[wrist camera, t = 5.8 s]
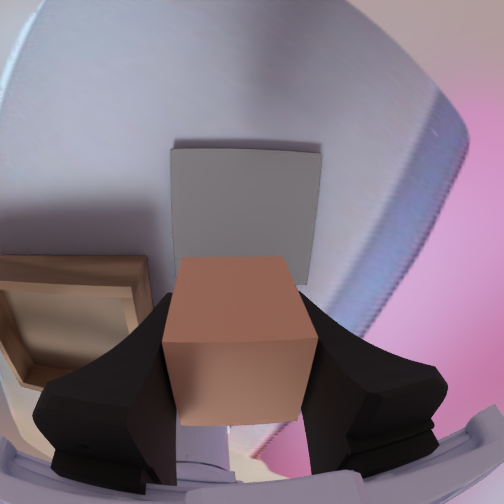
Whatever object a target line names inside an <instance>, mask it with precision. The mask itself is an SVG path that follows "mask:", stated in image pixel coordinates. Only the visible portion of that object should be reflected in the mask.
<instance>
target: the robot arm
mask: <svg viewBox="0 0 504 504" xmlns="http://www.w3.org/2000/svg"><path fill="white" fill-rule="evenodd" d="M298 292H299V294H300V296H301V299H302V301H303V303H304V306H305V308H306V310H307V312H308V315H309V317H310V319H311V322H312V324H313V326H314V329H315V331H316V333H317V336H318V341H317V346H316V350H315V354H314V358H313V363H312V367H311V371H310V375H309V379H308V383H307V387H306V390H305V394H304V398H303V401H302V405H301V410H302V415H303V420H304V426H305V432H306V437H307V444H308V450H309V457H310V464H311V472H312V475H310V476H304V477H298V478H291V479H284V480H275V481H265V482H253V483H244V482H243V481H236V478H235V472H234V471H230V462H229V448H228V434H229V433H230V426H184V425H181V423H180V419H179V415H178V412H177V408H176V404H175V400H174V396H173V391H172V387H171V383H170V379H169V374H168V369H167V365H166V360H165V355H164V350H163V345H162V339H163V334H164V330H165V325H166V321H167V316H168V312H169V308H170V303H171V299H172V295H173V293H167V294H166V295H165V296H164V297H163V298H162V299H161V301H160V302H159V303H158V304H157V306H156V307H155V308H154V309H153V310H152V311H151V313H150V314H149V315H148V316H147V317H146V318H145V319H144V320H143V321H142V322H141V324H140V325H139V326H137V327H136V328H135V329H134V330H133V331H132V332H131V333H130V334H129V335H128V336H127V337H126V338H125V339H124V340H123V341H121V342H120V343H119V344H117V345H116V346H115V347H114V348H112V349H111V350H109V351H108V352H106V353H105V354H103V355H102V356H100V357H99V358H97V359H96V360H94V361H92V362H91V363H89V364H87V365H85V366H83V367H81V368H79V369H78V370H76V371H73V372H71V373H69V374H67V375H64V376H62V377H59V378H57V379H54V380H51V381H49V382H47V383H46V385H45V387H44V389H43V391H42V393H41V395H40V397H39V400H38V402H37V404H36V407H35V409H34V411H33V415H32V417H33V420H34V423H35V425H36V426H37V428H38V429H39V430H40V432H41V433H42V434H43V435H44V436H45V438H46V439H47V440H48V441H49V442H50V443H51V445H52V446H53V447H54V448H55V449H56V450H55V453H54V456H53V460H52V462H48V461H45V460H43V459H40V458H37V457H34V456H31V455H29V454H26V453H23V452H21V451H18V450H16V448H15V447H14V445H12V443H11V442H10V441H9V440H7V439H6V438H5V437H3V436H1V435H0V504H444V503H446V502H448V501H449V500H451V499H453V498H454V497H456V496H458V495H459V494H461V493H463V492H464V491H466V490H467V489H469V488H470V487H472V486H474V485H475V484H477V483H478V482H479V481H481V480H482V479H484V478H485V477H487V476H488V475H489V474H490V473H491V472H493V471H494V470H495V469H496V468H497V467H499V466H500V465H501V464H502V463H503V462H504V417H503V415H502V414H501V412H500V411H499V410H498V408H497V406H496V405H495V404H494V405H491V406H490V407H488V408H486V409H484V410H482V411H481V412H479V413H477V414H476V415H475V416H474V417H473V418H472V419H471V420H470V421H469V422H468V423H467V425H466V427H465V428H463V429H461V430H459V431H457V432H455V433H453V434H451V435H449V436H446V437H444V438H442V439H440V440H437V439H436V437H435V436H434V434H433V432H432V430H431V429H433V428H434V423H433V421H432V420H431V417H432V416H433V415H434V413H435V412H436V410H437V409H438V407H439V406H440V405H441V403H442V402H443V400H444V399H445V397H446V394H447V390H448V385H447V383H446V381H445V380H444V378H443V377H442V376H441V374H440V373H439V371H438V370H437V369H436V367H434V366H431V365H427V364H423V363H419V362H415V361H411V360H408V359H405V358H402V357H400V356H397V355H394V354H392V353H389V352H387V351H384V350H382V349H380V348H378V347H376V346H374V345H372V344H370V343H368V342H366V341H364V340H363V339H361V338H359V337H358V336H356V335H354V334H353V333H351V332H350V331H348V330H347V329H345V328H344V327H342V326H341V325H340V324H338V323H337V322H336V321H334V320H333V319H332V318H330V317H329V316H328V315H327V314H325V313H324V312H323V311H322V310H321V309H320V308H318V307H317V306H316V305H315V304H314V303H313V302H312V301H310V300H309V299H308V298H307V297H306V296H305V295H304V294H302V293H301V292H300V291H298Z"/></svg>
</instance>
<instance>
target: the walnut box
mask: <svg viewBox="0 0 504 504" xmlns="http://www.w3.org/2000/svg"><path fill="white" fill-rule="evenodd" d="M152 310H153V303H152V296H151V289H150V282H149V274H148V266H147V257H146V256H43V255H0V350H1V352H2V354H3V356H4V357H5V359H6V361H7V363H8V365H9V367H10V368H11V370H12V372H13V374H14V375H15V377H16V379H17V380H18V382H19V384H20V385H21V387H25V388H29V389H32V390H36V391H40V392H42V391H43V389H44V387H45V385H46V383H47V382H49V381H51V380H54V379H57V378H59V377H62V376H64V375H67V374H69V373H71V372H73V371H76V370H78V369H79V368H81V367H83V366H85V365H87V364H89V363H91V362H92V361H94V360H96V359H97V358H99V357H100V356H102V355H103V354H105V353H106V352H108V351H109V350H111V349H112V348H114V347H115V346H116V345H117V344H119V343H120V342H121V341H123V340H124V339H125V338H126V337H127V336H128V335H129V334H130V333H131V332H132V331H133V330H134V329H135V328H136V327H137V326H139V325H140V324H141V322H142V321H143V320H144V319H145V318H146V317H147V316H148V315H149V314H150V313H151V311H152Z"/></svg>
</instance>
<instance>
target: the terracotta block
mask: <svg viewBox="0 0 504 504" xmlns="http://www.w3.org/2000/svg"><path fill="white" fill-rule="evenodd" d="M317 341H318V336H317V333H316V331H315V329H314V326H313V324H312V322H311V319H310V317H309V315H308V312H307V310H306V308H305V306H304V303H303V301H302V299H301V296H300V294H299V292H298V290H297V287H296V285H295V283H294V281H293V278H292V276H291V274H290V272H289V269H288V267H287V265H286V263H285V260H284V258H283V256H264V257H182V259H181V263H180V267H179V271H178V275H177V279H176V283H175V287H174V291H173V295H172V299H171V303H170V308H169V312H168V316H167V321H166V325H165V330H164V334H163V339H162V345H163V350H164V355H165V360H166V365H167V369H168V374H169V379H170V383H171V387H172V391H173V396H174V400H175V404H176V408H177V412H178V415H179V419H180V423H181V425H184V426H235V425H255V424H269V423H280V422H290V421H297V419H298V416H299V412H300V409H301V405H302V401H303V398H304V394H305V390H306V387H307V383H308V379H309V375H310V371H311V367H312V363H313V358H314V354H315V350H316V346H317Z"/></svg>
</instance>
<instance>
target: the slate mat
mask: <svg viewBox="0 0 504 504" xmlns="http://www.w3.org/2000/svg"><path fill="white" fill-rule="evenodd" d="M170 156H171V206H172V228H173V246H174V261H175V274H176V279H177V275H178V271H179V267H180V263H181V259H182V257H264V256H283V258H284V260H285V263H286V265H287V267H288V269H289V272H290V274H291V276H292V278H293V281H294V283H295V285H307V280H308V273H309V266H310V259H311V251H312V244H313V236H314V228H315V219H316V211H317V202H318V192H319V182H320V172H321V161H322V154H321V153H310V152H298V151H284V150H266V149H238V148H182V149H170Z"/></svg>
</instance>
